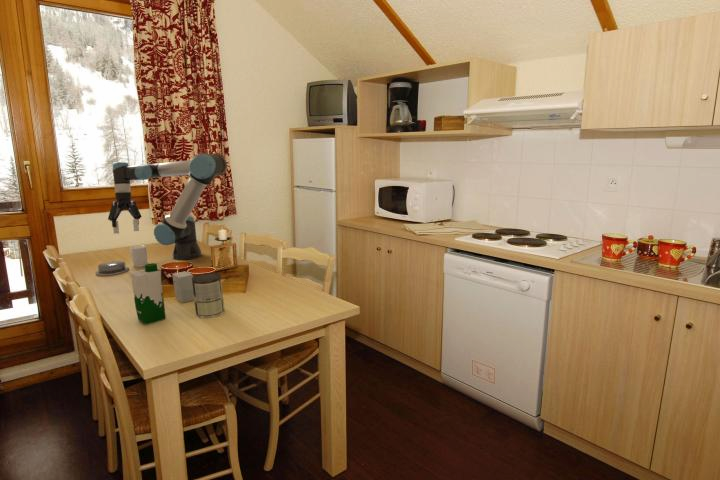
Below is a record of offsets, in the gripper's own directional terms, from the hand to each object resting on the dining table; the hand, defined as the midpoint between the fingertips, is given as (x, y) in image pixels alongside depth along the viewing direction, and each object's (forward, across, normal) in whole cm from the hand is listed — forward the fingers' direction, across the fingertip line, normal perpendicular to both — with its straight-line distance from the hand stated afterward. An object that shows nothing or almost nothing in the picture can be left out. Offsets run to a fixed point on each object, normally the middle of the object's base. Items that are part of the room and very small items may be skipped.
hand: (126, 232), depth 241 cm
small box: (+24, +41, +67) cm, 82 cm away
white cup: (+18, 0, +8) cm, 19 cm away
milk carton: (+27, +63, +69) cm, 97 cm away
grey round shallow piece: (+19, +13, +2) cm, 23 cm away
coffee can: (+26, +52, +86) cm, 104 cm away
